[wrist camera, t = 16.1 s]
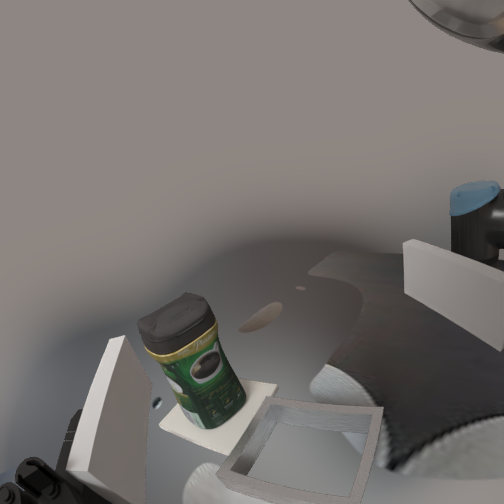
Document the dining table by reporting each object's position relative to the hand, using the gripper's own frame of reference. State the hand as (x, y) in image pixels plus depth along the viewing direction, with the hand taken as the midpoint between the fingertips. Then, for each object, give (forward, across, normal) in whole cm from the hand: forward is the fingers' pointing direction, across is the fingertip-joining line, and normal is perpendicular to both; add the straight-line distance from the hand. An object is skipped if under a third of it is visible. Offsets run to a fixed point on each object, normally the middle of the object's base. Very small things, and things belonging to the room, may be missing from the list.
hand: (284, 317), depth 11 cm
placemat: (+20, -9, -26) cm, 34 cm away
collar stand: (+6, 0, -26) cm, 27 cm away
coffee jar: (+20, -9, -25) cm, 34 cm away
